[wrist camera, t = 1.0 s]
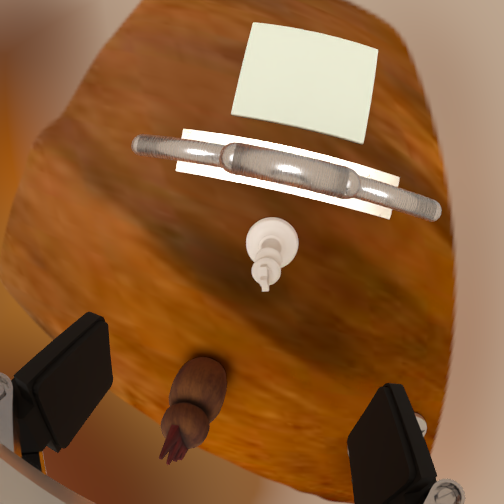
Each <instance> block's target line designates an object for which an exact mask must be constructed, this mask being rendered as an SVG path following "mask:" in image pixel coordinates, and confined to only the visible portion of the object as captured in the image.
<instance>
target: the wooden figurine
mask: <svg viewBox="0 0 504 504" xmlns="http://www.w3.org/2000/svg"><path fill="white" fill-rule="evenodd" d="M226 388H227V379H226V372H225V370H224V368H223V367H222V365H221V364H220V363H219V362H217V361H215V360H214V359H211V358H208V357H198V358H195V359H192V360H190V361H188V362H187V363H185V364H184V365H183V367H182V368H181V369H180V370H179V372H178V374H177V375H176V377H175V379H174V381H173V384H172V387H171V390H170V395H169V405H170V407H169V408H168V409H167V410H166V412H165V414H164V416H163V419H162V421H161V429H162V434H163V436H164V437H165V438H166V440H165V443H164V445H163V448H162V451H161V454H160V456H159V458H160V459H163V458H164V457H165V455H166V454H167V453H168V452H169V455H168V459H167V464H170V463H171V461H172V460H173V461H176V462H177V460H182V459H183V458H184V456H185V454H186V452H187V451H188V449H190V448H195V447H197V446H199V445H201V444H202V442H203V441H204V440H205V438H206V437H207V434H208V431H209V423H211V422H212V421H213V420H214V419H215V418H216V416H217V415H218V414H219V411H220V409H221V407H222V404H223V401H224V398H225V393H226Z"/></svg>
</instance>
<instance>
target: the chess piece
mask: <svg viewBox="0 0 504 504" xmlns="http://www.w3.org/2000/svg"><path fill="white" fill-rule="evenodd" d="M298 245H299V241H298V236H297V233H296V231H295V229H294V228H293V227H292V226H291V225H290V224H289V223H288V222H287V221H285V220H283V219H280V218H276V217H268V218H264V219H261V220H259V221H258V222H256V223H255V224H254V225H253V226H252V227H251V228H250V230H249V232H248V234H247V238H246V248H247V252H248V254H249V256H250V258H251V259H252V260H253V261H254V262H255V263H254V264H253V266H252V276H253V278H254V280H255V281H256V282H258V283H259V284H260V286H262V292H263V291H269V285H272V284H274V283H275V282H277V281H278V279H279V278H280V275H281V268H282V267H284V266H286V265H288V264H289V263H290V262H291V261H292V260H293V259H294V257H295V255H296V253H297V250H298Z"/></svg>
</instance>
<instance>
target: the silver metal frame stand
mask: <svg viewBox="0 0 504 504" xmlns="http://www.w3.org/2000/svg"><path fill="white" fill-rule="evenodd" d="M132 150H133V152H134V153H135V154H137V155H140V156H148V157H155V158H163V159H170V160H176V161H177V166H176V171H179V172H185V173H191V174H196V175H202V176H208V177H213V178H218V179H224V180H229V181H234V182H239V183H244V184H249V185H254V186H258V187H263V188H268V189H272V190H277V191H281V192H286V193H290V194H294V195H299V196H303V197H307V198H311V199H315V200H319V201H323V202H327V203H331V204H335V205H339V206H343V207H347V208H350V209H354V210H358V211H361V212H365V213H369V214H372V215H376V216H379V217H383V218H386V219H389V220H390V216H391V212H392V209H393V210H396V211H399V212H403V213H406V214H409V215H412V216H415V217H418V218H421V219H424V220H427V221H431V222H432V221H436V220H437V219H438V218H439V217H440V215H441V206H440V204H439V203H438V202H437V201H435V200H433V199H430V198H428V197H425V196H422V195H419V194H416V193H414V192H411V191H408V190H405V189H402V188H399V187H398V184H399V179H400V177H397V176H394V175H391V174H388V173H385V172H382V171H379V170H376V169H372V168H369V167H366V166H362V165H359V164H356V163H352V162H349V161H345V160H341V159H338V158H334V157H330V156H326V155H323V154H319V153H315V152H310V151H306V150H302V149H298V148H293V147H289V146H284V145H280V144H275V143H270V142H265V141H260V140H254V139H249V138H243V137H238V136H232V135H225V134H219V133H212V132H205V131H197V130H190V129H183V134H182V138H174V137H166V136H157V135H146V134H141V135H138V136H136V137H135V138H134V140H133V141H132Z"/></svg>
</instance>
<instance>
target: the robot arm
mask: <svg viewBox="0 0 504 504" xmlns="http://www.w3.org/2000/svg"><path fill="white" fill-rule="evenodd" d="M112 382H113V375H112V366H111V356H110V345H109V331H108V324H107V323H106V322H105V319H104V318H103V317H102V316H99V315H97V314H94V313H92V312H87V313H86V314H84V315H83V316H82V317H81V318H79V319H78V320H77V321H76V322H75V323H73V324H72V325H71V326H70V327H69V328H67V329H66V330H65V331H64V332H63V333H61V334H60V335H59V336H58V337H57V338H55V339H54V340H53V341H52V342H51V343H50V344H49V345H47V346H46V347H45V348H44V349H43V350H42V351H41V352H39V353H38V354H37V355H36V356H35V357H34V358H33V359H31V360H30V361H29V362H28V363H27V364H26V365H25V366H24V367H22V368H21V369H20V370H19V371H18V372H17V373H16V374H15V375H14V379H12V380H10V378H9V377H7V376H6V375H5V374H3V373H0V504H96V503H94V502H92V501H89V500H88V499H86V498H84V497H82V496H80V495H79V494H77V493H75V492H73V491H72V490H70V489H68V488H66V487H65V486H63V485H61V484H60V483H58V482H56V481H55V480H53V479H51V478H50V477H48V476H47V473H46V468H45V463H44V457H43V449H44V448H45V447H46V446H48V447H49V448H51V449H52V450H54V451H55V452H57V453H58V452H59V451H60V450H61V448H66V447H67V446H68V445H69V444H70V442H71V441H72V439H73V438H74V436H75V435H76V434H77V432H78V431H79V430H80V428H81V427H82V425H83V424H84V422H85V421H86V420H87V418H88V417H89V416H90V414H91V413H92V412H93V410H94V409H95V407H96V406H97V405H98V403H99V402H100V400H101V399H102V398H103V397H104V395H105V394H106V393H107V391H108V390H109V389H110V387H111V385H112ZM426 430H427V424H426V422H425V420H424V418H423V417H422V416H421V415H419V414H417V413H414V411H413V408H412V406H411V404H410V401H409V399H408V396H407V394H406V392H405V389H404V387H403V385H401V384H392V383H386V384H385V385H384V386H383V387H380V388H379V389H378V390H377V392H376V394H375V395H374V397H373V399H372V400H371V402H370V404H369V405H368V407H367V408H366V410H365V411H364V413H363V415H362V416H361V418H360V419H359V421H358V422H357V424H356V425H355V427H354V428H353V430H352V431H351V433H350V434H349V436H348V440H347V444H348V446H347V449H348V455H349V459H350V467H351V475H352V484H353V493H354V503H355V504H464V501H465V493H464V491H463V488H462V487H461V486H460V485H459V484H458V483H457V482H456V481H454V480H451V479H442V480H439V481H436V478H435V477H436V476H437V474H436V471H435V468H434V465H433V462H432V459H431V456H430V453H429V450H428V448H427V445H426V442H425V439H424V436H425V433H426Z"/></svg>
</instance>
